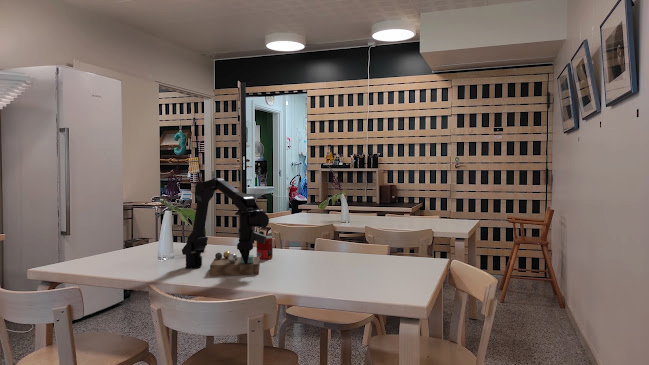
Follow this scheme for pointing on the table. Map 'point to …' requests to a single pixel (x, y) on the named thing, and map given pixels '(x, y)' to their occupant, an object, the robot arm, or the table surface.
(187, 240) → the robot arm
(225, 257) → the brass ball
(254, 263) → the board
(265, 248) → the canned food
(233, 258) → the steel ball
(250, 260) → the teal block
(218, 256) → the black rubber ball
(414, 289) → the table surface
